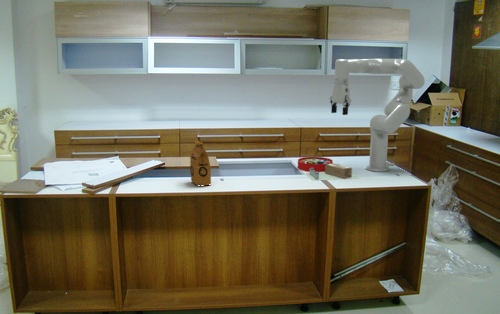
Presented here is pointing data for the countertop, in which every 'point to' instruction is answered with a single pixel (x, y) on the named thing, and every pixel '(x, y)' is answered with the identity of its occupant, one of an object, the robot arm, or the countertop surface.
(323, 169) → the toy clock
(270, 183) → the countertop surface
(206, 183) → the coffee package
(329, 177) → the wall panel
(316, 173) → the screw rail
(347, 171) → the brown rectangular block
